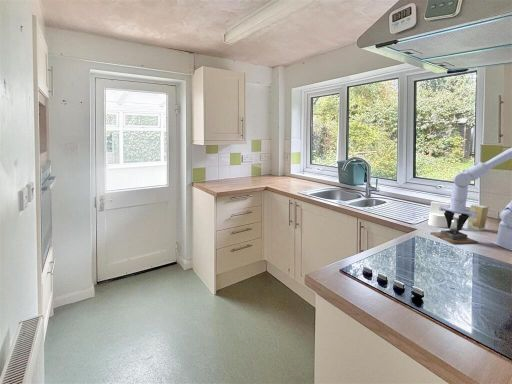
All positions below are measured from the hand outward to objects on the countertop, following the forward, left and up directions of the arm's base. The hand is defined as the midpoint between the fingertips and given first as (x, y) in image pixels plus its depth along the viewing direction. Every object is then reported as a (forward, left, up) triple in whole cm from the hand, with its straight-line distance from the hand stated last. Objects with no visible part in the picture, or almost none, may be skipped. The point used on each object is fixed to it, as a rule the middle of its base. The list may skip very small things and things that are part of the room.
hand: (454, 228), depth 137 cm
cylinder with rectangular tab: (+21, -9, -5) cm, 23 cm away
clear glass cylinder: (0, 0, -2) cm, 2 cm away
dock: (0, 0, -5) cm, 5 cm away
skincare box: (+13, -24, -5) cm, 28 cm away
